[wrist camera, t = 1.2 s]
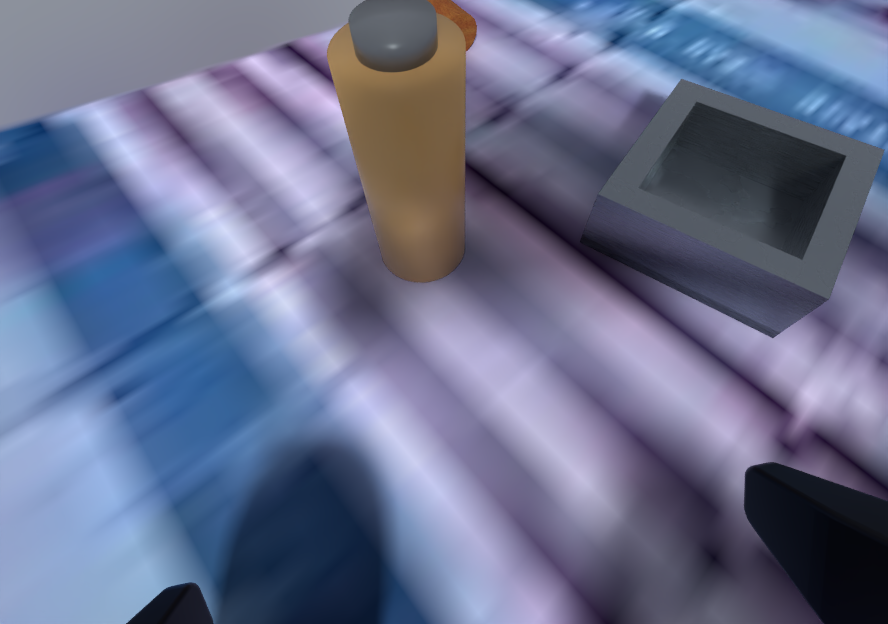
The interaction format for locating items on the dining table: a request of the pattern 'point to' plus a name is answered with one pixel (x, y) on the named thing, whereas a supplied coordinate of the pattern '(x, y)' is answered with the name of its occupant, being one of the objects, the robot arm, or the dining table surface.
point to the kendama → (457, 18)
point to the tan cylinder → (406, 129)
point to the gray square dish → (735, 206)
